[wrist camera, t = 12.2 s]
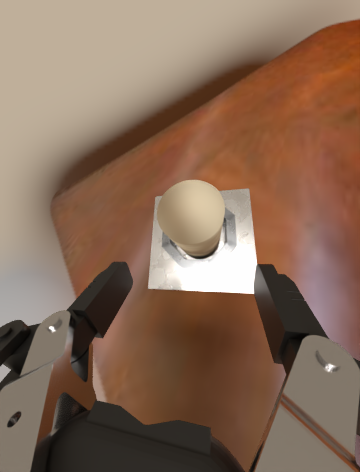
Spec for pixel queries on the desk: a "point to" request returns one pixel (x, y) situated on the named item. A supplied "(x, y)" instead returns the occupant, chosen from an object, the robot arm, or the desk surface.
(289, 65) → the desk surface
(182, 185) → the cream rounded cylinder
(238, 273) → the socket plate
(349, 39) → the desk surface
